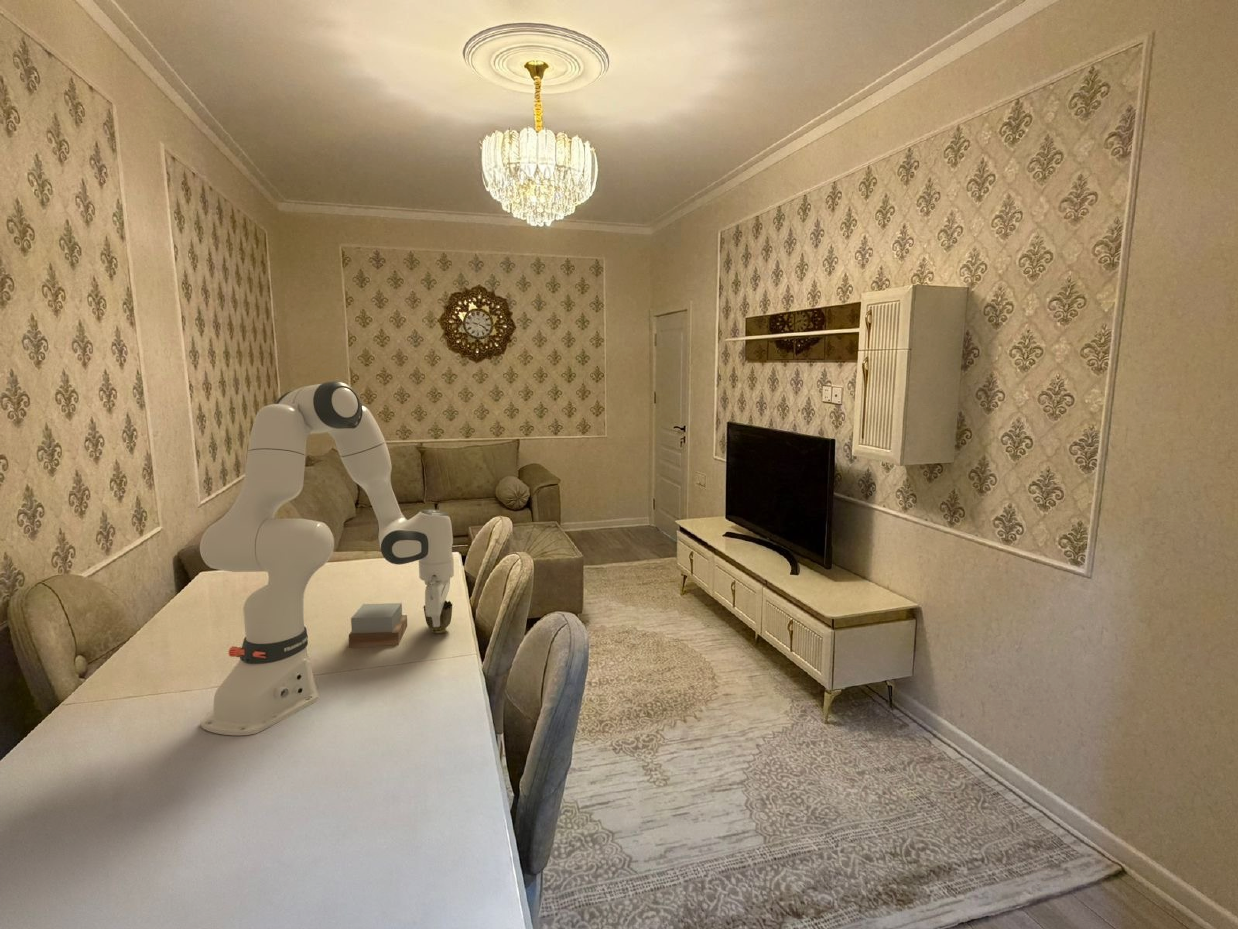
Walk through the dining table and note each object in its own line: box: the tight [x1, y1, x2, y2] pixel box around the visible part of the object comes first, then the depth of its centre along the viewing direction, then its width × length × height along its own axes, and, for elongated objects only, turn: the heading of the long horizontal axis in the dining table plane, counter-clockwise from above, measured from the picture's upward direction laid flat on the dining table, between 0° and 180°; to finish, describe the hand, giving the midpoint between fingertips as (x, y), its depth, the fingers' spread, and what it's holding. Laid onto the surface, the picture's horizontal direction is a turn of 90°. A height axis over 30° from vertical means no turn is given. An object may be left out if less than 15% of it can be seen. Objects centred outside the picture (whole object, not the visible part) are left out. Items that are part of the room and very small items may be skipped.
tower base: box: [348, 614, 408, 649], centre depth 167 cm, size 12×12×4 cm
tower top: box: [350, 602, 403, 633], centre depth 166 cm, size 10×10×4 cm
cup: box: [422, 599, 453, 635], centre depth 169 cm, size 8×7×8 cm
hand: (438, 620), depth 169 cm, fingers closed on cup, 6 cm apart
